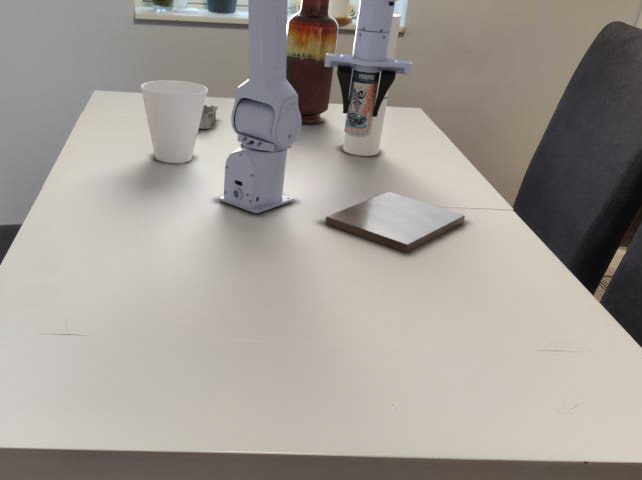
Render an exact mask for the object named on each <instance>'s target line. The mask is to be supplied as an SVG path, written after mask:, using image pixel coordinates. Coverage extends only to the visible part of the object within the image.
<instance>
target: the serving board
mask: <svg viewBox="0 0 642 480" xmlns="http://www.w3.org/2000/svg"><path fill="white" fill-rule="evenodd" d="M465 217H466V214H462V213H458V212H455V211H452V210H449V209H447V208H446V209H445V208H442V207H439V206H436V205H433V204H431V203H427V202H423V201H420V200H417V199H413V198H410V197H408V196H403V195H402V194H401V195H400V194H397V193H395V192H391V191H387V192H384V193H382V194H379V195H376V196H374V197H371V198H368V199H366V200H364V201H361V202H359V203H357V204H354V205H352V206H349V207H346V208H343V209H341V210H340V211H336V212H333V213H331V214H329V215H326V217H325V222H324V224H325V225H328V226H330V227H333V228H336V229H339V230H342V231H345V232H347V233H350V234H353V235H355V236H358V237H362V238H364V239H367V240H369V241H373V242H376V243H378V244H381V245H383V246H386V247H389V248H392V249H394V250H398V251H399V252H404V253H408V252H409V251H411V250H413V249H416V248H417V247H420V246H421V245H423V244H424V243H427V242H429V241H430V240H431V241H432V240H433V239H435V238H436V237H439V236H440V235H442V234H444V233H447V232H448V231H450V230H452V229H453V228H456V227H457V226H459V225H461V224H463V223H464V222H465Z"/></svg>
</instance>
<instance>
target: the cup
mask: <svg viewBox="0 0 642 480" xmlns="http://www.w3.org/2000/svg"><path fill="white" fill-rule="evenodd" d="M139 87H140V91H141V94H142V100H143V104H144V105H143V106H144V109H145V114H146V119H147V125H148V129H149V135H150V140H151V144H152V149H153V155H154V158H155V159H156V161H160V162H163V163H166V164H167V163H168V164H181V163H182V164H183V163H188V162H190V161H191V160H192V159H193V156H194V150H195V147H196V143H197V137H198V133H199V129H200V128H199V125H200V121H201V117H202V112H203V108H204V105H205V104H206V98H207V94H208V92H209V89H208V88H207V86H205V85H203V84H201V83H196V82H192V81H184V80H171V79H167V80H166V79H164V80H163V79H162V80H152V81H151V80H150V81H146V82H143V83H142V84H141V85H140V86H139Z"/></svg>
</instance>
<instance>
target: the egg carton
mask: <svg viewBox="0 0 642 480" xmlns="http://www.w3.org/2000/svg"><path fill="white" fill-rule="evenodd" d="M218 108H219V105H216V106H215V105H210V106H208V105H207V104H204V108H203V112H202V117H201V121H200V125H199V129H202V130H206V129H212V126H213V125H214V122H216V119H217V110H218Z"/></svg>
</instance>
